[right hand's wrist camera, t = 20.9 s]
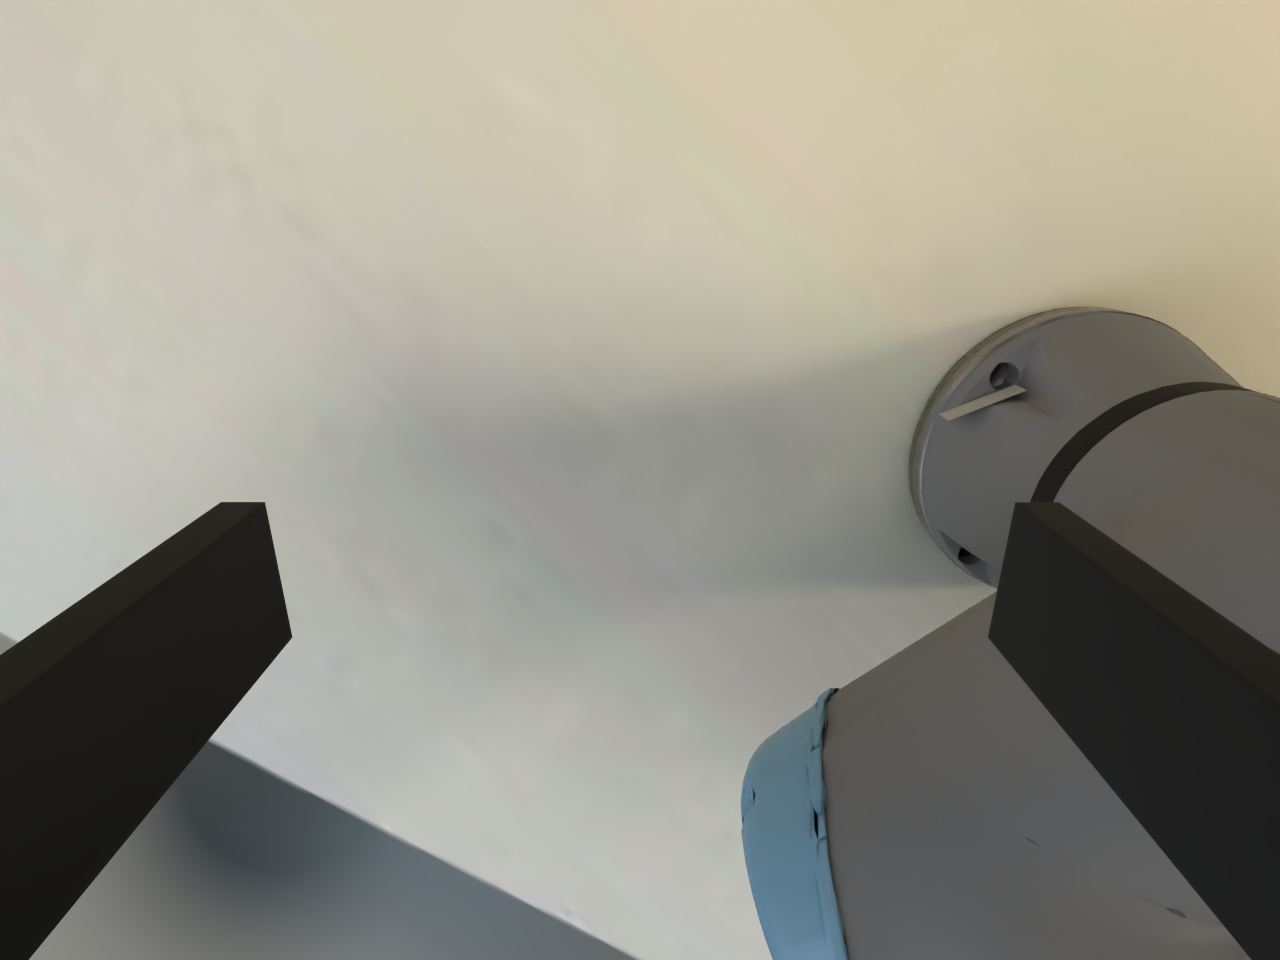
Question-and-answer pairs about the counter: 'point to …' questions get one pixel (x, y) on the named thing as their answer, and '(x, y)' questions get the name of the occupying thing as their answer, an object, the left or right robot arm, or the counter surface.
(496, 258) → the counter surface
